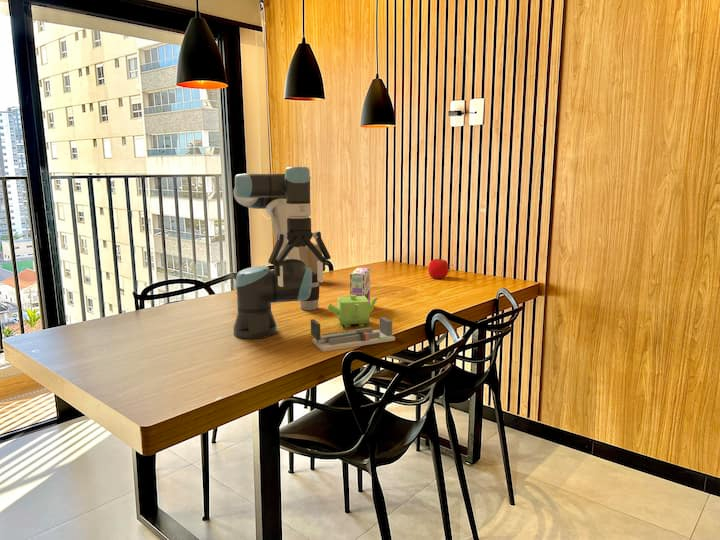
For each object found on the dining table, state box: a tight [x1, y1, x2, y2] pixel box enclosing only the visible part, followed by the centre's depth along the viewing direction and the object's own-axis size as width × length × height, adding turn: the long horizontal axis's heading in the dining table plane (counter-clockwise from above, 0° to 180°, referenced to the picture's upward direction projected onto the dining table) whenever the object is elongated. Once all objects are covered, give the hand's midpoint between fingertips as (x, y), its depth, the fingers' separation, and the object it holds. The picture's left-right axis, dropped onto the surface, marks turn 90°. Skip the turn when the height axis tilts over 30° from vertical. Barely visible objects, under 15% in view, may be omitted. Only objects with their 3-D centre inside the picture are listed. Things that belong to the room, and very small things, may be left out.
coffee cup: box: [299, 272, 321, 311], centre depth 215 cm, size 10×10×15 cm
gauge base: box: [312, 316, 396, 352], centre depth 174 cm, size 26×10×6 cm, turn 114°
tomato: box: [428, 258, 450, 280], centre depth 274 cm, size 10×11×11 cm
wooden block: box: [298, 242, 323, 273], centre depth 266 cm, size 10×10×20 cm
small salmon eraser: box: [364, 332, 369, 340], centre depth 171 cm, size 1×1×2 cm
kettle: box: [327, 295, 381, 328], centre depth 193 cm, size 15×14×11 cm
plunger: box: [310, 318, 363, 343], centre depth 170 cm, size 16×8×7 cm, turn 114°
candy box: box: [349, 267, 371, 303], centre depth 213 cm, size 14×6×16 cm, turn 168°
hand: (300, 283), depth 165 cm, fingers open, 13 cm apart
